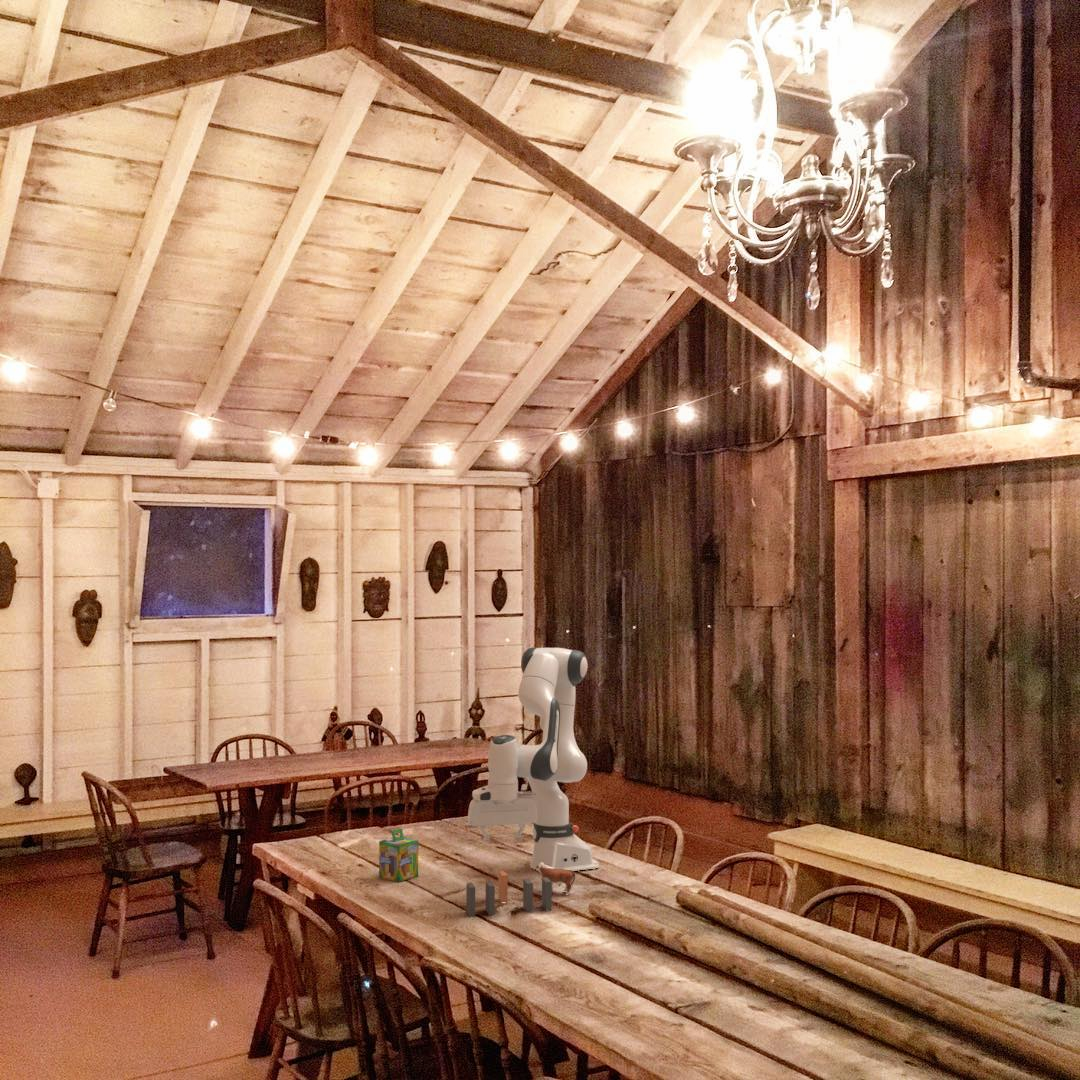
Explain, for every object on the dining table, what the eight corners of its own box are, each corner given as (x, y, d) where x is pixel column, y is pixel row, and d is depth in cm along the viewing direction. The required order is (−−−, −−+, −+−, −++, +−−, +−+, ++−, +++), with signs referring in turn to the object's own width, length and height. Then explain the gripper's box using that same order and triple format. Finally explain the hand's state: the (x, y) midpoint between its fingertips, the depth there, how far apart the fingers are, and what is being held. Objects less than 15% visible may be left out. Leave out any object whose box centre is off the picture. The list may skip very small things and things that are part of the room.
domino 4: (528, 906, 310) (528, 878, 311) (532, 911, 306) (532, 883, 306) (523, 907, 310) (523, 879, 310) (527, 912, 305) (527, 883, 306)
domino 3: (503, 898, 319) (503, 870, 319) (507, 903, 314) (507, 875, 314) (498, 898, 318) (498, 871, 319) (502, 903, 314) (502, 875, 314)
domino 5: (547, 905, 312) (547, 877, 312) (551, 910, 307) (551, 881, 308) (541, 905, 311) (541, 877, 312) (546, 910, 307) (546, 882, 307)
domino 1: (471, 911, 306) (472, 882, 307) (475, 916, 302) (475, 887, 302) (466, 911, 306) (466, 883, 306) (469, 916, 301) (469, 887, 301)
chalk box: (398, 883, 335) (399, 834, 336) (377, 878, 341) (378, 830, 341) (419, 876, 342) (419, 829, 343) (398, 872, 348) (399, 825, 348)
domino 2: (490, 909, 308) (491, 881, 308) (494, 914, 303) (494, 885, 303) (485, 910, 307) (485, 881, 308) (489, 915, 303) (489, 886, 303)
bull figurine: (538, 887, 331) (538, 860, 331) (577, 893, 324) (577, 866, 324) (531, 890, 327) (531, 863, 327) (570, 897, 320) (570, 869, 320)
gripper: (534, 788, 323) (534, 835, 323) (467, 791, 318) (466, 839, 318) (539, 792, 317) (539, 840, 317) (471, 795, 312) (470, 844, 311)
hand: (502, 839), depth 317 cm, fingers open, 8 cm apart
